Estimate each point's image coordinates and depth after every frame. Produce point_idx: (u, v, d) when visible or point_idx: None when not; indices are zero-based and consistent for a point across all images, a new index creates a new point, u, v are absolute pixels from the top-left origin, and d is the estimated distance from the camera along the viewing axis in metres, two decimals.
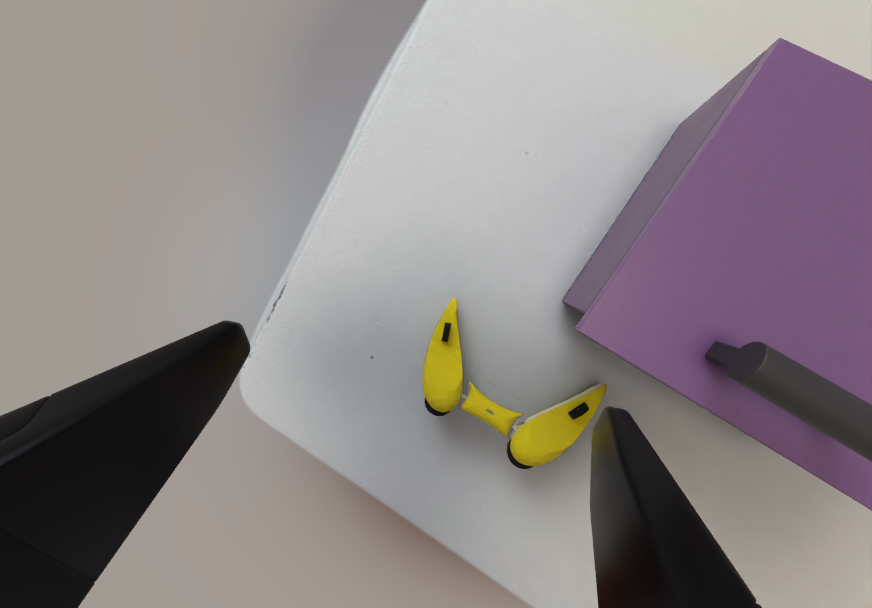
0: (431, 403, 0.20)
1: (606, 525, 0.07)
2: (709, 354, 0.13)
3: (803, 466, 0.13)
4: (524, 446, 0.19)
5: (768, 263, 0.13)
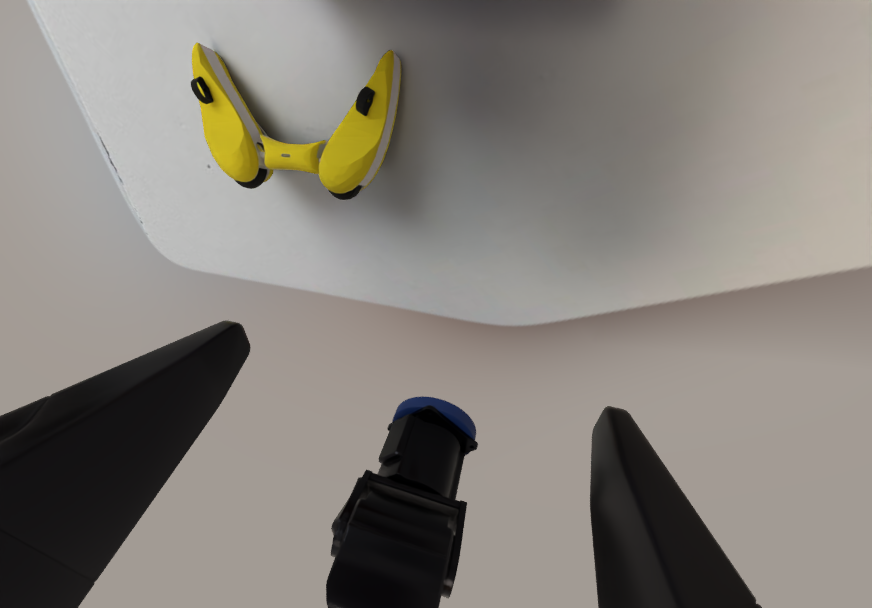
0: (231, 177, 0.18)
1: (606, 525, 0.07)
2: None
3: None
4: (323, 172, 0.17)
5: None
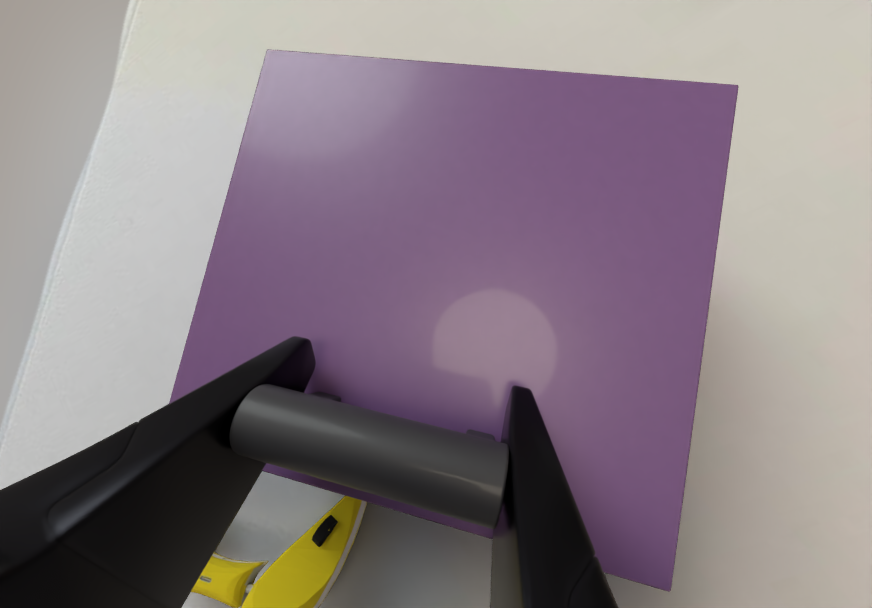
0: None
1: None
2: None
3: (491, 536, 0.09)
4: None
5: (341, 272, 0.10)
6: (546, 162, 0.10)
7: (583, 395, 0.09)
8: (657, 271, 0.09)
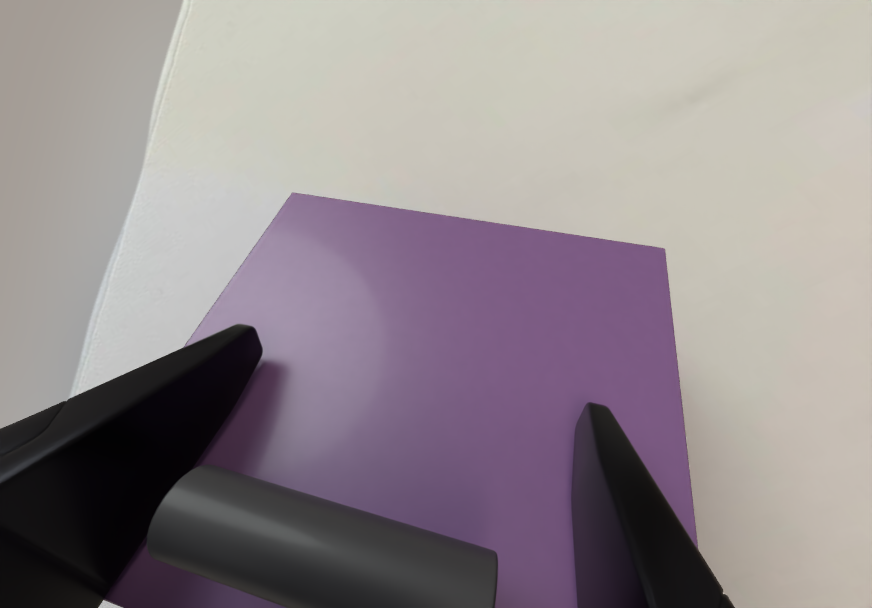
0: None
1: (585, 519, 0.07)
2: None
3: None
4: None
5: (319, 369, 0.10)
6: (520, 288, 0.11)
7: None
8: (629, 386, 0.09)
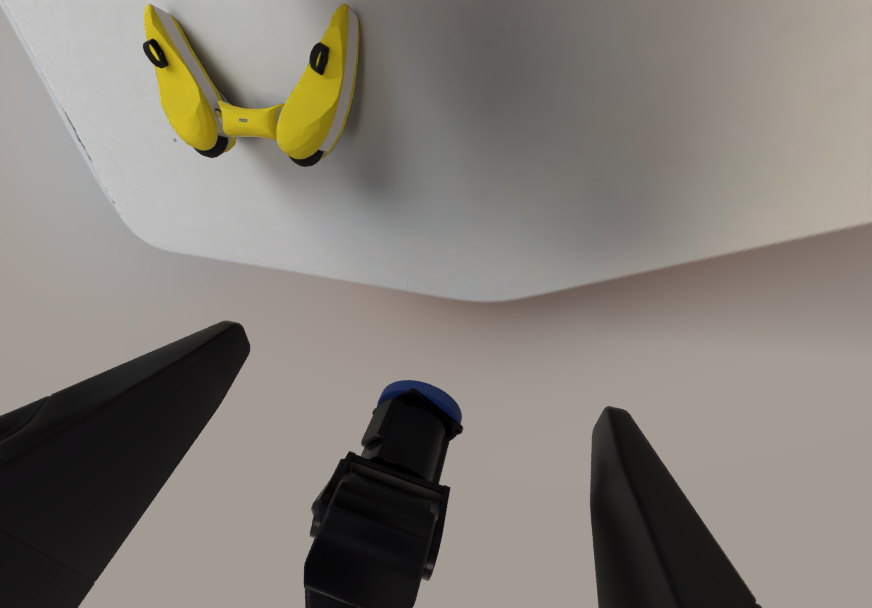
0: None
1: (606, 525, 0.07)
2: None
3: None
4: (280, 136, 0.16)
5: None
6: None
7: None
8: None
